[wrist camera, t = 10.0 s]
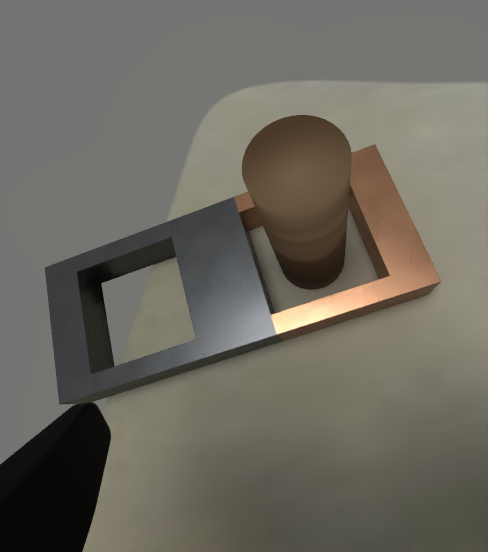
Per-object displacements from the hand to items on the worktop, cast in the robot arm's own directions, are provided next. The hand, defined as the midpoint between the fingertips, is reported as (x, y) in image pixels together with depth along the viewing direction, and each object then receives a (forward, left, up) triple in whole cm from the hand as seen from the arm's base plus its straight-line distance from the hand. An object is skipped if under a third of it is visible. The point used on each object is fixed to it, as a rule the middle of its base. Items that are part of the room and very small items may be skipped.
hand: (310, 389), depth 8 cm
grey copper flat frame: (+7, +3, -13) cm, 15 cm away
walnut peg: (+7, -2, -13) cm, 15 cm away
